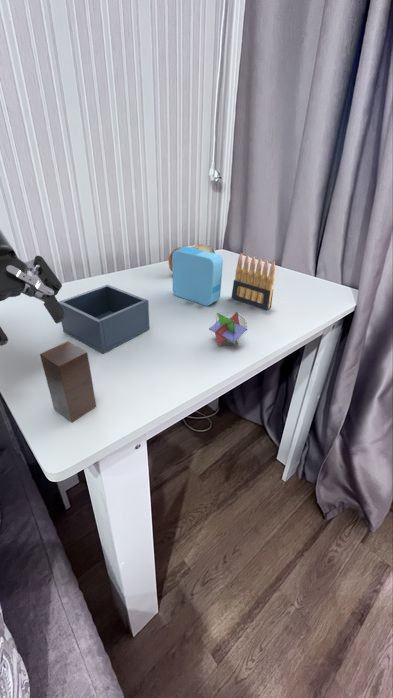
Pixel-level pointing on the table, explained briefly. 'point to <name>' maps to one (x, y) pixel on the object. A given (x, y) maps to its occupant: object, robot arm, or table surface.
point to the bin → (105, 317)
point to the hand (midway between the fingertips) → (34, 331)
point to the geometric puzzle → (229, 328)
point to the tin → (200, 247)
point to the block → (69, 380)
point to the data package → (197, 275)
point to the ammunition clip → (254, 283)
